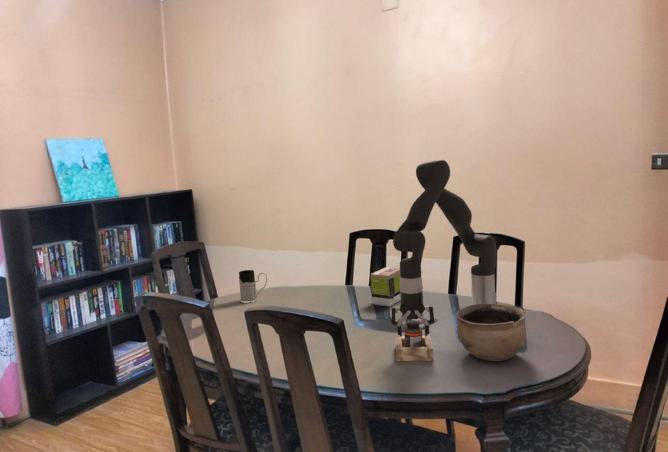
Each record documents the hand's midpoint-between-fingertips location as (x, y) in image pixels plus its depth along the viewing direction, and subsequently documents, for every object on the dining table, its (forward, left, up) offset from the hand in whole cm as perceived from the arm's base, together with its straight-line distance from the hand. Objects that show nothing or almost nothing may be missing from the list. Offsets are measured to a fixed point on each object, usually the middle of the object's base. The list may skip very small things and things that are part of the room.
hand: (413, 335), depth 165 cm
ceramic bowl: (-25, +3, -7) cm, 26 cm away
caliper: (-5, -26, -7) cm, 28 cm away
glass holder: (+75, -70, -7) cm, 103 cm away
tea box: (+8, -62, -7) cm, 63 cm away
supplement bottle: (0, 0, -7) cm, 7 cm away
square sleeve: (0, 0, -6) cm, 6 cm away
